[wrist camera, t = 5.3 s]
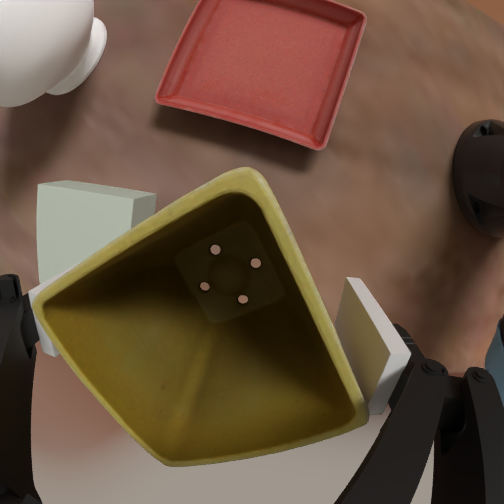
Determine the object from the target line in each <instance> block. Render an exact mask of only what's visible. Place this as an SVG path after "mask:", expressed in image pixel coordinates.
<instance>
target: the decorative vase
mask: <svg viewBox="0 0 504 504" xmlns="http://www.w3.org/2000/svg"><path fill="white" fill-rule="evenodd" d="M93 16H94V3H93V0H0V106H2V107H16V106H21V105H24V104H26V103H29V102H31V101H33V100H35V99H36V98H38V97H40V96H41V95H43V94H44V93H46V92H47V93H49V94H52V95H62V94H65V93H68V92H70V91H72V90H73V89H75V88H76V87H78V86H79V85H80V84H81V83H82V82H83V81H84V80H85V79H86V78H87V77H88V76H89V75H90V74H91V73H92V71H93V70H94V68H95V67H96V65H97V64H98V62H99V60H100V58H101V56H102V54H103V51H104V48H105V45H106V39H107V32H106V28H105V25H104V24H103V23H102V22H101V21H100V20H99V19H97V18H95V17H93Z"/></svg>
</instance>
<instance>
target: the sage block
mask: <svg viewBox="0 0 504 504" xmlns="http://www.w3.org/2000/svg"><path fill="white" fill-rule="evenodd" d="M156 197H157V194H155V193H149V192H143V191H137V190H130V189H124V188H118V187H111V186H104V185H98V184H91V183H83V182H76V181H69V180H64V181H56V182H49V183H42V184H38V194H37V254H38V269H39V280H40V284H42V283H44V282H46V281H47V280H49V279H51V278H53V277H54V276H56V275H58V274H60V273H61V272H63V271H65V270H67V269H69V268H70V267H72V266H74V265H76V264H78V263H80V262H81V261H83V260H85V259H87V258H89V257H90V256H91V255H93V254H94V253H96V252H97V251H99V250H100V249H102V248H103V247H105V246H106V245H107V244H109V243H110V242H112V241H113V240H115V239H116V238H118V237H119V236H121V235H122V234H124V233H125V232H127V231H128V230H130V229H132V228H133V227H135V226H136V225H138V224H139V223H141V222H142V221H144V220H146V219H147V218H149V217H150V216H152V215H154V212H155V204H156Z"/></svg>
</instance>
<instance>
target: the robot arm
mask: <svg viewBox="0 0 504 504" xmlns="http://www.w3.org/2000/svg"><path fill="white" fill-rule="evenodd" d="M453 177H454V187H455V192H456V196H457V200H458V203H459V205H460V208H461V210H462V212H463V214H464V216H465V218H466V219H467V220H468V222H469V223H470V224H471V225H472V226H473V227H474V228H475V229H477V230H478V231H480V232H482V233H485V234H487V235H490V236H493V237H499V238H501V237H504V122H502V121H499V120H494V119H489V120H482V121H477V122H475V123H473V124H471V125H470V126H469V127H467V128H466V130H465V131H464V132H463V134H462V135H461V137H460V139H459V141H458V144H457V147H456V151H455V156H454V165H453ZM85 260H86V259H85ZM83 261H84V260H83ZM83 261H81V262H83ZM81 262H80V263H81ZM80 263H78V264H80ZM78 264H76V265H74V266H72V267H70V268H69V269H67V270H65V271H63V272H61V273H60V274H58V275H56V276H54V277H53V278H51V279H49V280H47V281H46V282H44V283H42V284H40V285H39V286H37V287H35V288H34V289H32V290H30V291H29V292H28V293H27V294H26V295H24V296H22V291H21V285H20V280H19V276H18V275H15V274H5V275H1V276H0V504H42V501H41V499H40V497H39V495H38V493H37V491H36V489H35V486H34V482H33V473H32V458H31V404H32V389H33V378H34V369H35V361H36V354H37V351H36V347H35V343H36V342H37V341H39V340H40V343H41V347H42V350H43V352H45V353H47V354H49V355H51V356H54V357H56V356H57V355H59V354H60V353H59V351H58V350H57V349H56V347H55V346H54V345H53V343H52V342H51V340H50V339H49V337H48V336H47V334H46V333H45V331H44V330H43V328H42V326H41V324H40V323H39V321H38V319H37V318H36V316H35V314H34V311H33V309H32V302H33V300H34V298H35V296H36V295H37V294H38V293H40V292H41V291H42V290H43V289H44V288H46V287H47V286H48V285H50V284H51V283H53V282H54V281H55V280H57V279H58V278H60V277H61V276H63V275H64V274H66V273H67V272H68V271H70V270H71V269H73V268H74V267H76V266H77V265H78ZM335 327H336V330H337V333H338V336H339V339H340V342H341V345H342V347H343V350H344V352H345V355H346V357H347V359H348V362H349V364H350V366H351V369H352V371H353V374H354V376H355V378H356V381H357V383H358V386H359V388H360V390H361V393H362V395H363V397H364V399H365V402H366V404H367V406H368V408H369V413H370V415H376V414H382V413H383V411H384V409H385V407H386V406H387V404H388V403H389V406H390V408H391V413H390V414H389V416H388V418H387V419H386V421H385V423H384V425H383V426H382V428H381V429H380V433H379V435H378V437H377V438H376V440H375V442H374V444H373V445H372V447H371V449H370V450H369V452H368V454H367V455H366V457H365V459H364V460H363V462H362V464H361V465H360V467H359V468H358V470H357V471H356V473H355V475H354V476H353V477H352V479H351V480H350V482H349V483H348V485H347V486H346V488H345V489H344V491H343V492H342V493H341V495H340V496H339V497H338V499H337V500H336V501H335V503H334V504H410V503H411V501H412V498H413V496H414V494H415V491H416V489H417V486H418V484H419V482H420V479H421V476H422V474H423V471H424V468H425V465H426V463H427V460H428V457H429V454H430V451H431V447H432V444H433V441H434V471H433V487H432V498H431V504H504V315H503V318H501V319H500V320H499V322H498V324H497V330H496V333H495V335H494V338H493V340H492V342H491V344H490V347H489V349H488V351H487V354H486V358H485V369H483V368H479V367H470V368H468V369H467V371H466V372H465V374H464V376H463V378H461V377H454V376H449V375H448V371H447V369H446V368H445V366H443V365H442V364H441V363H439V362H437V361H435V360H431V359H425V357H424V356H423V354H422V353H421V351H420V350H419V348H418V347H417V345H416V344H414V341H413V340H412V338H411V337H410V335H409V334H408V333H407V331H406V330H405V329H404V328H402V327H401V326H400V325H398V324H392V323H391V322H390V320H389V319H388V317H387V316H386V314H385V313H384V312H383V310H382V309H381V307H380V306H379V304H378V303H377V301H376V300H375V299H374V297H373V296H372V294H371V293H370V292H369V290H368V289H367V287H366V286H365V285H364V283H363V282H362V280H361V279H360V278H351V277H346V280H345V284H344V289H343V293H342V297H341V301H340V306H339V310H338V314H337V318H336V321H335Z"/></svg>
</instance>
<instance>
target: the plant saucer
mask: <svg viewBox="0 0 504 504" xmlns="http://www.w3.org/2000/svg"><path fill="white" fill-rule="evenodd" d="M366 22H367V17H366V15H365V14H364V13H363V12H361V11H359V10H356V9H353V8H351V7H348V6H346V5H343V4H341V3H337V2H335V1H332V0H199V2H198V3H197V5H196V7H195V9H194V10H193V12H192V14H191V16H190V18H189V20H188V22H187V24H186V26H185V28H184V30H183V32H182V34H181V36H180V38H179V40H178V42H177V44H176V47H175V49H174V50H173V53H172V55H171V57H170V60H169V62H168V64H167V66H166V69H165V71H164V73H163V76H162V78H161V81H160V83H159V86H158V88H157V90H156V93H155V98H154V99H155V102H156V103H157V104H160V105H165V106H169V107H174V108H178V109H182V110H187V111H191V112H195V113H198V114H202V115H206V116H210V117H214V118H217V119H222V120H225V121H229V122H232V123H236V124H239V125H243V126H246V127H249V128H252V129H256V130H259V131H262V132H265V133H269V134H271V135H274V136H277V137H280V138H283V139H286V140H289V141H292V142H294V143H297V144H300V145H302V146H305V147H308V148H310V149H313V150H316V151H320V150H322V149H324V148H325V147H326V145H327V142H328V139H329V136H330V133H331V130H332V127H333V125H334V121H335V118H336V116H337V113H338V110H339V107H340V104H341V101H342V97H343V94H344V92H345V89H346V85H347V82H348V80H349V76H350V73H351V70H352V67H353V64H354V60H355V58H356V54H357V51H358V48H359V45H360V42H361V39H362V35H363V32H364V29H365V25H366Z"/></svg>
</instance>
